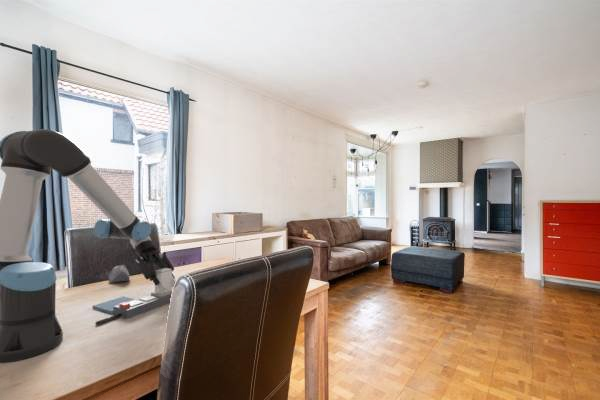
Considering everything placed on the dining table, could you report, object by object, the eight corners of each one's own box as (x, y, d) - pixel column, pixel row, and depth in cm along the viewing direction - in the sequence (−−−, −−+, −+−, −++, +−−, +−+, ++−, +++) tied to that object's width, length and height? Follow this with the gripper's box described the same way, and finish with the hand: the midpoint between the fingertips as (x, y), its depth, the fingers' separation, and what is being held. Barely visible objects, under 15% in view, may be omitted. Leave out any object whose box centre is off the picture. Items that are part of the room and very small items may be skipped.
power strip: (103, 327, 95) (103, 315, 95) (89, 323, 98) (89, 310, 98) (181, 297, 124) (181, 288, 123) (168, 295, 127) (168, 285, 127)
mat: (111, 314, 106) (111, 311, 106) (92, 308, 111) (92, 305, 111) (142, 303, 117) (142, 301, 117) (123, 298, 122) (123, 296, 122)
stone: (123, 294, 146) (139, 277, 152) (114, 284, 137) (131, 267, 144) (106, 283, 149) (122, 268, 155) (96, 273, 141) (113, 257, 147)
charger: (161, 296, 117) (161, 271, 117) (154, 294, 118) (154, 270, 118) (171, 292, 121) (171, 268, 121) (165, 291, 123) (165, 267, 123)
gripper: (157, 247, 135) (182, 287, 127) (118, 254, 118) (145, 300, 111) (165, 237, 132) (191, 277, 125) (127, 242, 116) (154, 289, 109)
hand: (169, 288), depth 118 cm, fingers closed on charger, 5 cm apart
